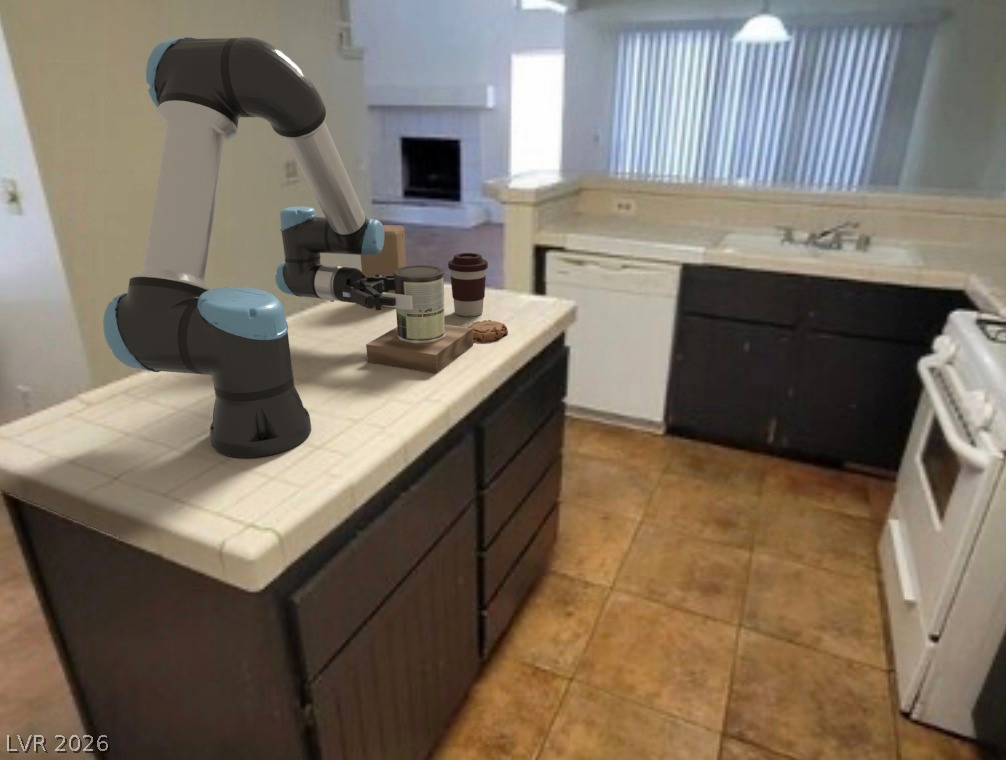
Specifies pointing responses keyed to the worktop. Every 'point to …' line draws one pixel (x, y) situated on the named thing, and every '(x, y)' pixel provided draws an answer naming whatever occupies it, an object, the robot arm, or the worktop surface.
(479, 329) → the cookie
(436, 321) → the coffee can
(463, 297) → the coffee cup
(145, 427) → the worktop surface
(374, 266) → the wooden block
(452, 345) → the walnut base block
